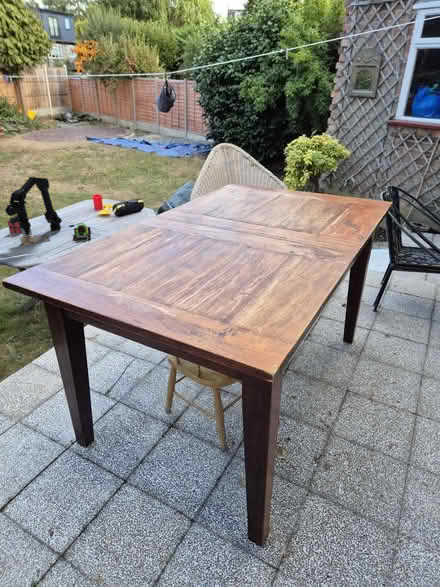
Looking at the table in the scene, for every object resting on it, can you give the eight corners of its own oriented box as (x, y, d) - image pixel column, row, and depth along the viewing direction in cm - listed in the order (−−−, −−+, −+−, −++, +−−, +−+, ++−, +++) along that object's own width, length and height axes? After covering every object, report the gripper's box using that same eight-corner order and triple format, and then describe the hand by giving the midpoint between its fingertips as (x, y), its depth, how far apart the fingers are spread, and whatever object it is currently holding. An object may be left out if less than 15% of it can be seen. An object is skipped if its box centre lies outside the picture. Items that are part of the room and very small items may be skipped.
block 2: (33, 240, 277) (32, 234, 275) (35, 243, 272) (33, 237, 269) (23, 242, 274) (21, 235, 272) (24, 245, 269) (22, 238, 266)
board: (47, 234, 290) (47, 233, 289) (51, 242, 276) (50, 241, 275) (20, 239, 282) (20, 237, 282) (22, 247, 268) (22, 245, 268)
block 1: (31, 232, 273) (29, 226, 271) (31, 234, 269) (30, 228, 267) (22, 233, 271) (20, 227, 269) (23, 236, 267) (21, 229, 265)
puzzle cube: (22, 234, 291) (18, 221, 286) (10, 233, 293) (6, 220, 288) (30, 230, 299) (27, 217, 295) (18, 229, 301) (15, 216, 297)
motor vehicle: (73, 241, 278) (71, 227, 273) (75, 232, 295) (72, 219, 290) (90, 240, 281) (88, 225, 276) (91, 231, 297) (89, 217, 292)
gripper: (7, 209, 266) (12, 231, 274) (9, 217, 252) (15, 240, 259) (25, 207, 271) (30, 229, 278) (28, 214, 257) (33, 237, 264)
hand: (27, 234), depth 270 cm, fingers closed on block 1, 5 cm apart
